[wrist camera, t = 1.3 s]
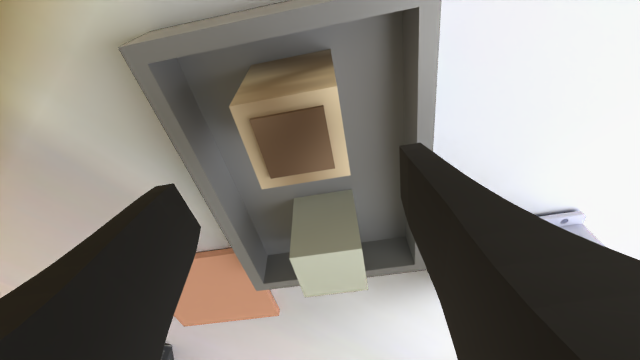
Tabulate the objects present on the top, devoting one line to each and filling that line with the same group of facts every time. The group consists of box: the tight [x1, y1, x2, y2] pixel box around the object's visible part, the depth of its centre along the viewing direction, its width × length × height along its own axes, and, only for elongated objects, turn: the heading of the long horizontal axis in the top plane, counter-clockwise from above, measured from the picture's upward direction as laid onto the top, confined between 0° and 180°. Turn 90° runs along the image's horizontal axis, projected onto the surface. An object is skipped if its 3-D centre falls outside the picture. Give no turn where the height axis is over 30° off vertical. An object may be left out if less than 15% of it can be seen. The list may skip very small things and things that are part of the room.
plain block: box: [289, 189, 368, 297], centre depth 19 cm, size 4×4×5 cm
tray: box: [118, 0, 441, 291], centre depth 18 cm, size 13×18×3 cm
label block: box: [229, 49, 351, 189], centre depth 14 cm, size 4×4×5 cm
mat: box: [174, 248, 280, 326], centre depth 27 cm, size 10×10×1 cm
